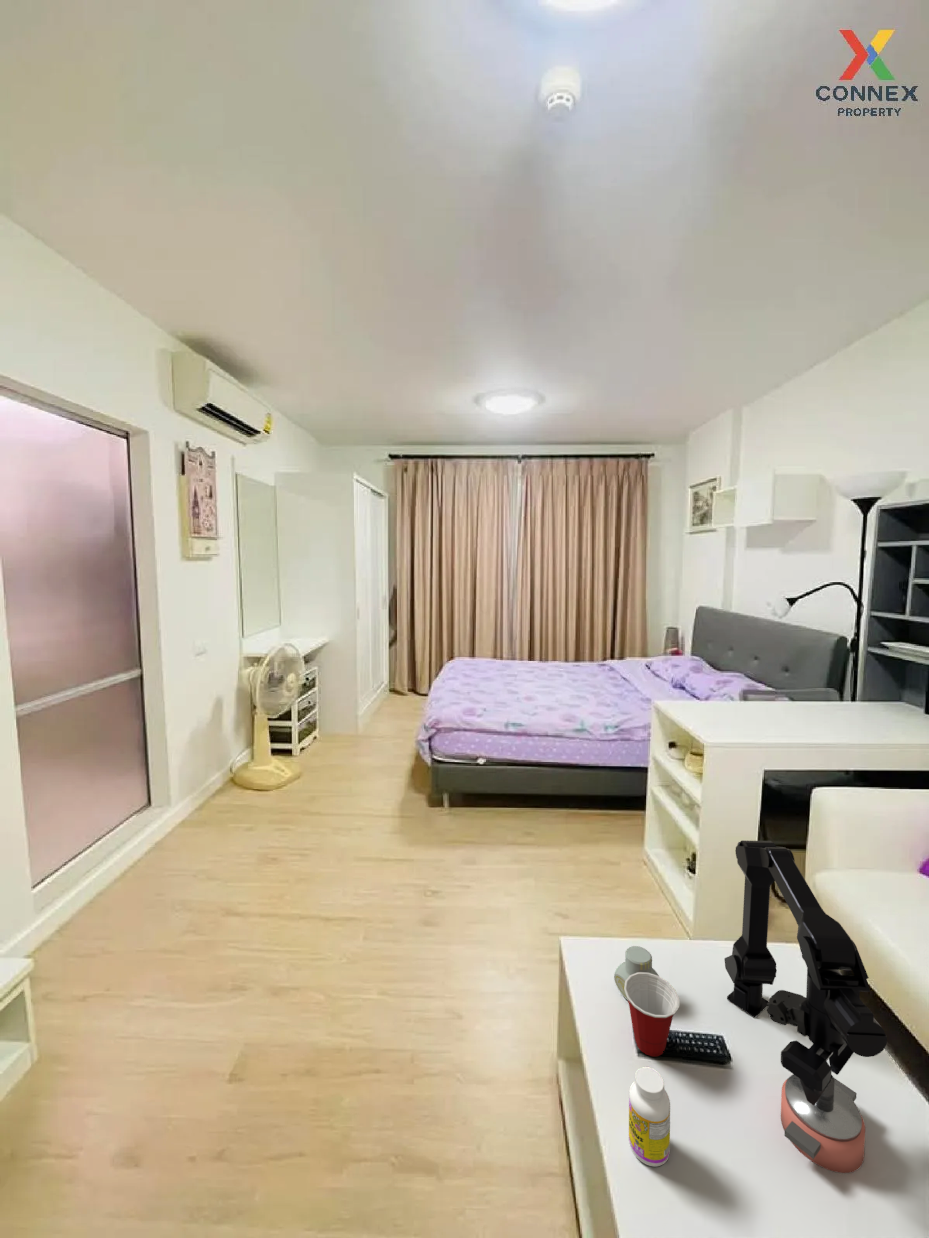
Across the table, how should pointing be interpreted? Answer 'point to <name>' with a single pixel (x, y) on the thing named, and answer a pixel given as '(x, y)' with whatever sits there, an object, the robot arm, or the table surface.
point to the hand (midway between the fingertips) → (823, 1086)
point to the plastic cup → (651, 1010)
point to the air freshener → (633, 966)
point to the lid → (825, 1111)
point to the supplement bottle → (649, 1117)
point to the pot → (823, 1140)
